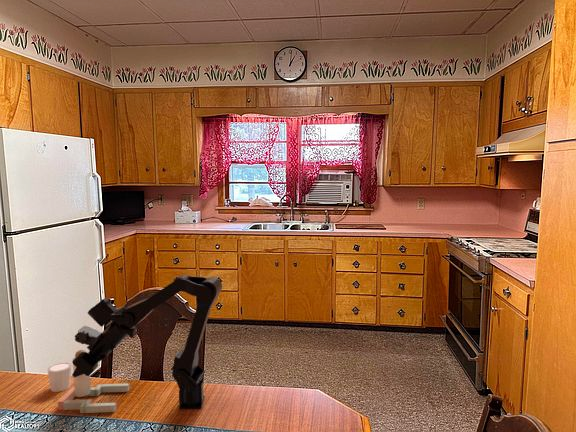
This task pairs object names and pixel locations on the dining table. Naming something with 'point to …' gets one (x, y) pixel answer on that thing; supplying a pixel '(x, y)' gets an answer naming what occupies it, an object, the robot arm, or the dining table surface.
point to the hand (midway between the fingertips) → (77, 372)
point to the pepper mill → (81, 381)
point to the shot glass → (59, 376)
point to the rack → (86, 405)
